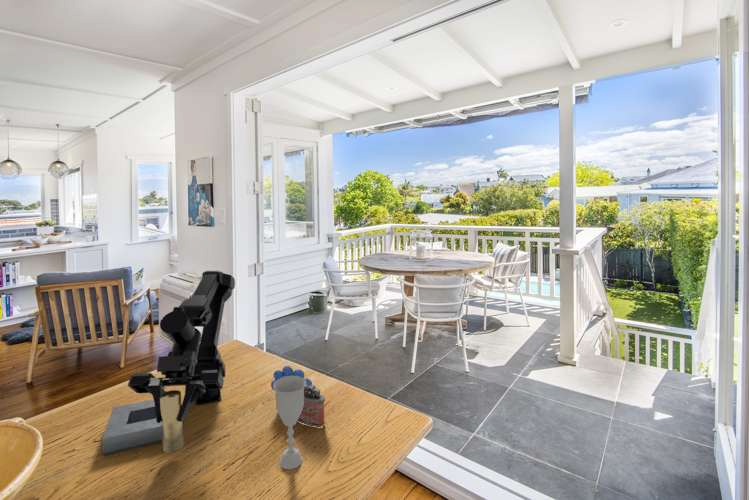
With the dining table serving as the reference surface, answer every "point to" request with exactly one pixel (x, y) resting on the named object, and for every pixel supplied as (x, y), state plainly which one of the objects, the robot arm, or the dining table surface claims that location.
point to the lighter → (312, 407)
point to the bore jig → (131, 427)
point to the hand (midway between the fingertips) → (169, 421)
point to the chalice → (290, 414)
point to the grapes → (289, 372)
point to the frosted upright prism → (171, 421)
